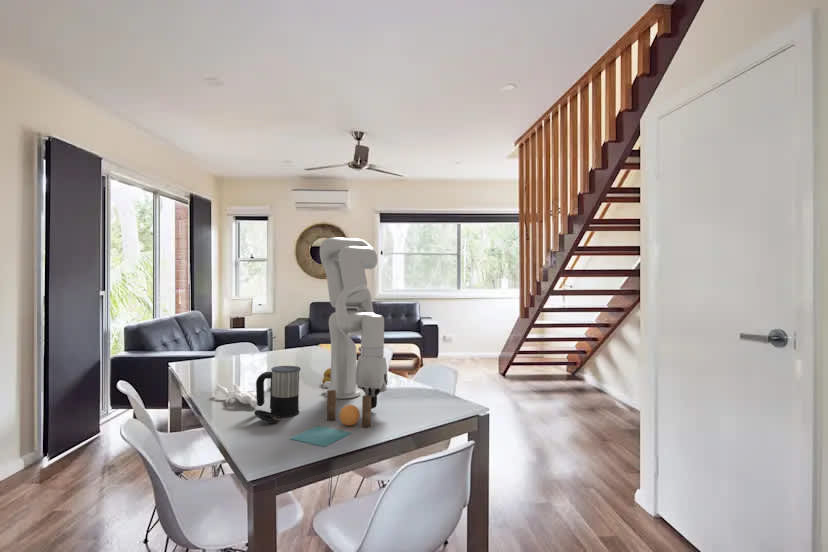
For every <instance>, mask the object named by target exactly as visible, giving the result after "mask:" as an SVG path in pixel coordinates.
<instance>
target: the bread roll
mask: <svg viewBox="0 0 828 552" xmlns="http://www.w3.org/2000/svg"><path fill="white" fill-rule="evenodd" d="M325 381H330V382H331V367H329V368H327V369H326V370H325V371H324V372H323V378H322V381H321V382H322V384H324V383H325Z"/></svg>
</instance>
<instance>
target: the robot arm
mask: <svg viewBox="0 0 828 552" xmlns="http://www.w3.org/2000/svg"><path fill="white" fill-rule="evenodd" d="M319 256H320V257H319V258H320V262H321V265H322V267H323V270H324V272H325V275H326V281H327V290H328V297H329V303H330V305H331V307H332V308H335V312H332V313H331V314H330V316H329V319H328V327H329V335H330V336H329V337H330V368H331V382H330V381H325V383H324V384H323V383H322V384H323V385H322V387H323V388H327V389H328V390H336V400H337V399H338V400H340V399H343V400H346V399H353V398H356V397H359V396H360V395H361V390H362V391H363V392H364V396H365V395H370V396H371V410H372V409H375V408H376V407H377V405H378V395H379V394H380V393H384V392H386V391H387V390H388V388H387V385H388V377H389V376H388V366H387V359H386V356H385V352H384V351H385V317H384V316H383V315H381V314H376V313H375V312H374V306H373V301H372V295H371V291H370V289H369V287H368V279H367V276H366V270H374V269H375V268H376V267H377V265H378V254H377V252H376V250H375V248H374V247H373V246H372V245H371V244H370V243H368V242H367V241H365V240H364V239H361V238H350V237H348V238H347V237H328V238H327V237H326V238H325V239H323V240H322V241H321V243H320V246H319ZM348 309H350V310H348ZM351 309H355V310H351ZM356 309H357V310H356ZM353 336H360V346H359V347H358V349H357V346H356V343H355V342H354V341H353V339H352V338H351V337H353ZM357 350H358V351H357ZM357 352H360V355H358V359H357ZM328 390H327V391H328ZM327 391H326V393H325V394H326V396H327Z"/></svg>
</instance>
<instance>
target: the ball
mask: <svg viewBox="0 0 828 552" xmlns="http://www.w3.org/2000/svg"><path fill="white" fill-rule="evenodd" d="M360 414H361V413H360V411H359V408H358V407H357V406H356V405H353V404H347V405H345V406H343V407H342V408H341V409H340V412H339V419H340V421H341V423H342V424H343V425H344V426H348V427H350V426H353V425H355V424H357V423H358V422H359V420H360V416H361V415H360Z"/></svg>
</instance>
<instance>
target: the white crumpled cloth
mask: <svg viewBox="0 0 828 552" xmlns="http://www.w3.org/2000/svg"><path fill="white" fill-rule="evenodd" d="M232 387H233V388H232V390H230V391H229V390H228V388H226V387H224V386H221V385H220V384H217V385H216V388H215V389H214V393H213V394H214V396H217V395H218V394H219V391H220V393H222V394H223V395H224V396H225V399H224V400H225V403H226V404H228V403H230V404H232V400H234V399H237V400H238V401H239V402H240V403H242V404H244V405H245V404H250V406H251V407H252V408H257V407H258V405H257V393H256V390H254V391H247V390H246V389H243V388H242V387H241V386H239V385H237V384H236V383H234V384H233V386H232Z"/></svg>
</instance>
